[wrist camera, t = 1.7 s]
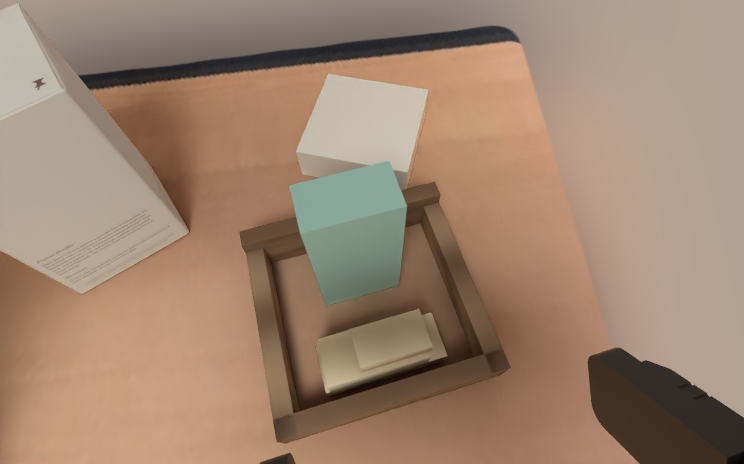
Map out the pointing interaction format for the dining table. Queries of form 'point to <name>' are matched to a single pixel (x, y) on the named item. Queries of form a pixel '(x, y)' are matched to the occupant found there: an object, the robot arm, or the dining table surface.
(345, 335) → the offcuts
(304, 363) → the dining table surface
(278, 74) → the dining table surface
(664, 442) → the robot arm
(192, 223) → the dining table surface
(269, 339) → the square wooden frame
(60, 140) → the supplement box
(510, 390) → the dining table surface
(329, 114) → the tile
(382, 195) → the tall block
